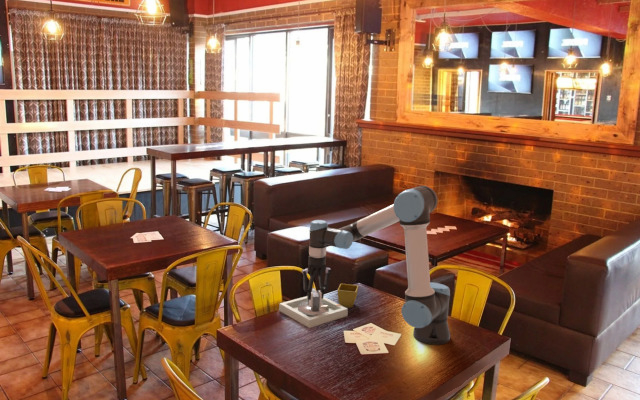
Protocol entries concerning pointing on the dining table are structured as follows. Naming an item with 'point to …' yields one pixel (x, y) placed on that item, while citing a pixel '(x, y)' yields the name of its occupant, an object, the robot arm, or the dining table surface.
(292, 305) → the white shallow square tray
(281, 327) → the dining table surface
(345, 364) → the dining table surface
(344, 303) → the flower pot
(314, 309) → the dial
